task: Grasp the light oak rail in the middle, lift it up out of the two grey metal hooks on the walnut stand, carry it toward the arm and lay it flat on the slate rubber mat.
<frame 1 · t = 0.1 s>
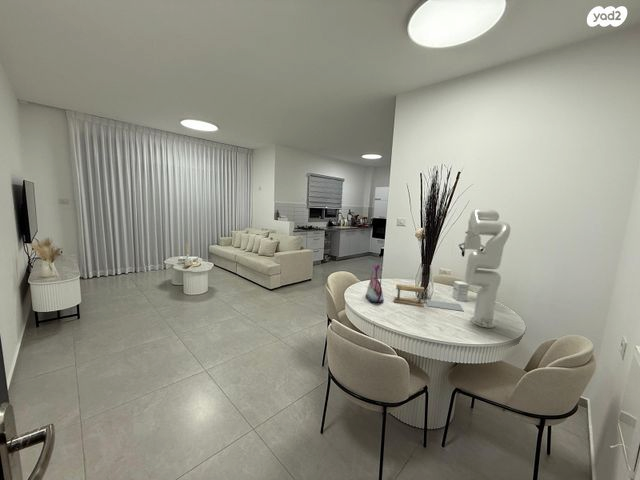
hand: (470, 256, 195), 31 cm above the table, fingers open, 9 cm apart
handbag: (374, 299, 188), on the table
oak rail: (409, 290, 184), point 8 cm above the table, touching hook stand
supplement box: (459, 299, 196), on the table
slate mat: (443, 305, 182), on the table
hook stand: (408, 302, 186), on the table
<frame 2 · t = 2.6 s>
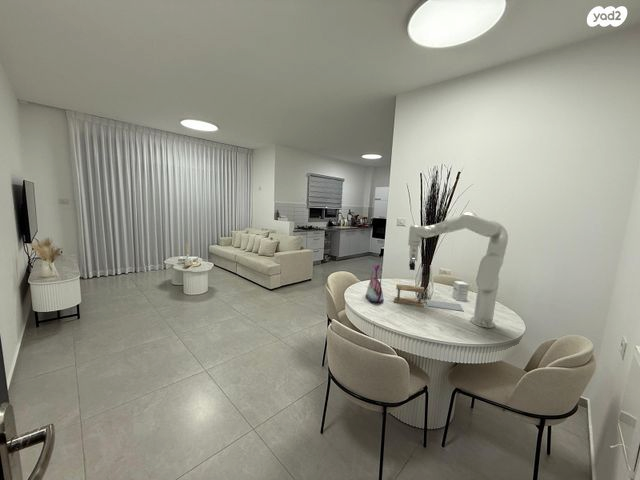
hand: (411, 268, 182), 24 cm above the table, fingers open, 9 cm apart
nothing on the table moved.
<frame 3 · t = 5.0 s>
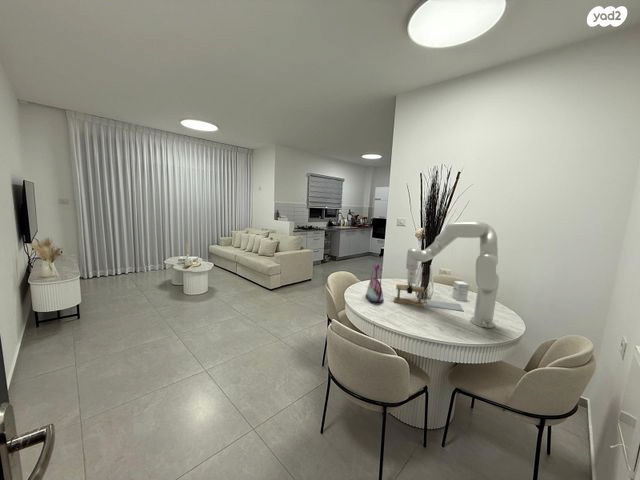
hand: (409, 292, 185), 7 cm above the table, fingers closed on oak rail, 3 cm apart
oak rail: (409, 290, 184), point 9 cm above the table, touching gripper, hook stand
everything else where it was.
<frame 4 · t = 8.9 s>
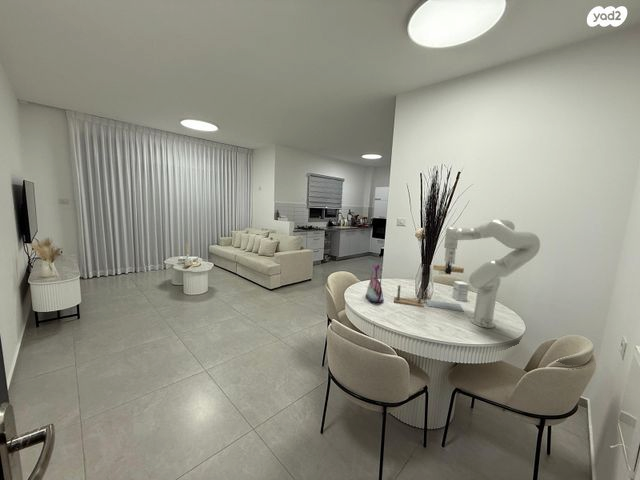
hand: (447, 272, 179), 23 cm above the table, fingers closed on oak rail, 3 cm apart
oak rail: (447, 271, 178), point 24 cm above the table, touching gripper
everything else where it was.
when the fingers open (2 cm above the table, at t = 13.2 s): oak rail drops 2 cm, resting on slate mat.
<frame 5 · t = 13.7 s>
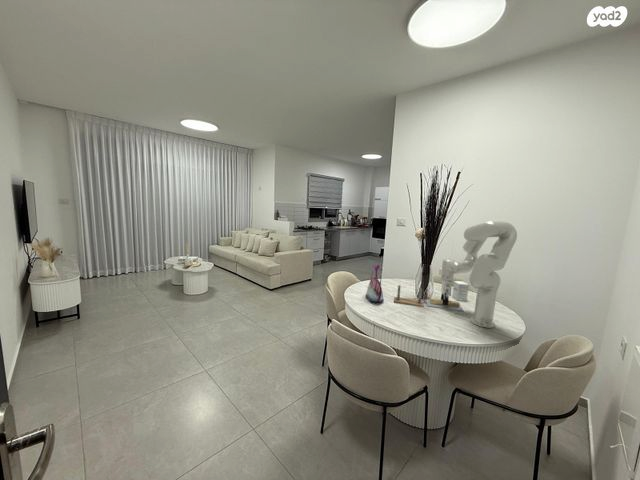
hand: (444, 302, 182), 2 cm above the table, fingers open, 8 cm apart
oak rail: (444, 304, 182), point 1 cm above the table, touching slate mat
everything else where it was.
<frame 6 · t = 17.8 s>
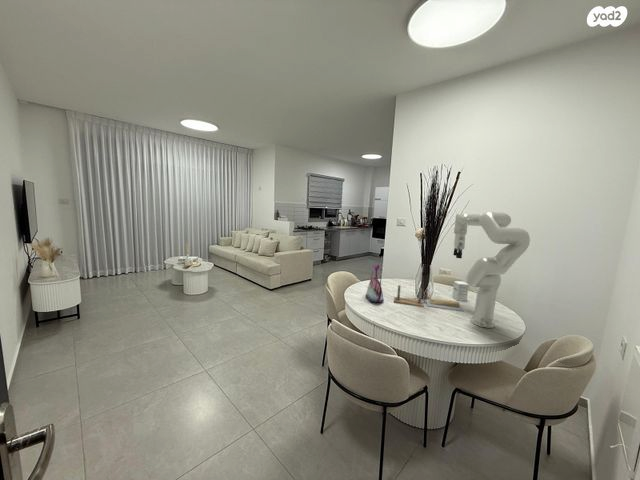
hand: (457, 256, 182), 33 cm above the table, fingers open, 9 cm apart
nothing on the table moved.
at the end: oak rail inside the target area on the slate mat (0.1 cm from its centre), point 0.6 cm above the slate mat's base; oak rail tilted 0°; the gripper is holding nothing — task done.
